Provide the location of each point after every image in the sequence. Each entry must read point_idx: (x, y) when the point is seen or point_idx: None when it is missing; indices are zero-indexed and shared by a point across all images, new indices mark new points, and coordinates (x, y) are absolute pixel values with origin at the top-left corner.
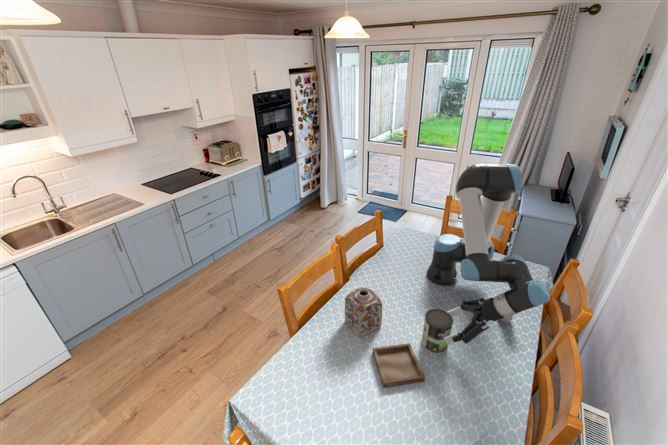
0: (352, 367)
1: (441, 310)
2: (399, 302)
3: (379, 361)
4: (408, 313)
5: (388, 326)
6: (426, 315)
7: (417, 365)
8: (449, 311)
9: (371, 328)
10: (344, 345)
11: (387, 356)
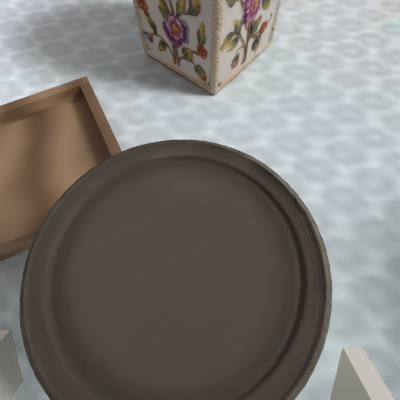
0: (32, 61)
1: (314, 285)
2: (385, 133)
3: (30, 102)
4: (337, 173)
5: (227, 117)
6: (180, 148)
7: (15, 227)
8: (375, 394)
9: (180, 60)
10: (108, 30)
11: (75, 130)
